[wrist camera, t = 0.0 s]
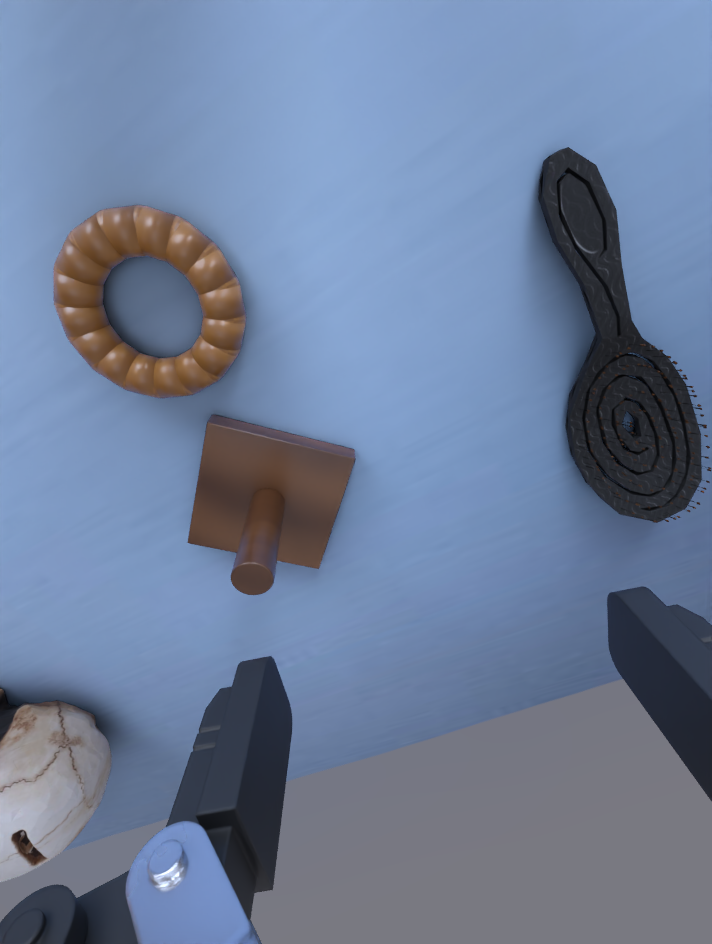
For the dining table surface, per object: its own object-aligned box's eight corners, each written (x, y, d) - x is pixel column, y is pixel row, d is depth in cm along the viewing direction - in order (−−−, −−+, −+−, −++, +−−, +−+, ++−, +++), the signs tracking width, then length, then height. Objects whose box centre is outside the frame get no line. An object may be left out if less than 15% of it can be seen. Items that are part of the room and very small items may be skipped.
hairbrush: (660, 94, 22) (739, 499, 32) (619, 113, 25) (702, 475, 35) (495, 191, 24) (619, 548, 34) (476, 197, 27) (594, 520, 37)
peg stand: (212, 413, 32) (170, 485, 23) (354, 449, 33) (363, 527, 25) (192, 531, 36) (151, 626, 28) (319, 556, 38) (316, 653, 30)
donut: (67, 178, 25) (43, 175, 23) (262, 241, 27) (257, 243, 25) (65, 365, 30) (45, 376, 27) (232, 407, 31) (225, 421, 29)
